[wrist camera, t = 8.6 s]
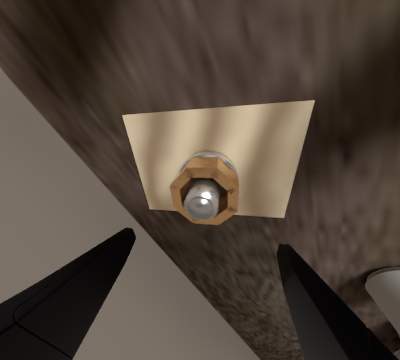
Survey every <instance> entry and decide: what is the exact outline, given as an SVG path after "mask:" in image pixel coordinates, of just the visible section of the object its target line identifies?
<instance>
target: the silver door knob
mask: <svg viewBox="0 0 400 360" xmlns="http://www.w3.org/2000/svg"><path fill="white" fill-rule="evenodd" d="M193 157H220V158H221V159H222V160H223V161H224V162H225V163H226V164H227V165H228V166H229V167H231V168H232V169H233V170H234V171H235V172H236V173H237V170H236V167H235V165H234V163H233V162H232V161H231V160H230V158H228V157H227V156H226V155H224V154H222V153H220V152H217V151H213V150H204V151H200V152H197V153H195V154H193V155H192V156H190V157H189V158H188V160H187V161H186V162H185V164H184V165H183V166H182V168H181V169H180V172H181V170H182V169H183V168H184V167H185V166H186V165H187V164H188V163H189V162H190V160H191V159H192V158H193ZM180 172H179V173H180ZM188 187H189V192H188V195H187V197H186V199H185V201H184V208H185V210H186V212H187V213H188V214H189V215H190V216H191V217H193V218H194V219H197V220H209V219H212V218H213V217H215V216H216V214H217V212H218V206H219V199H220V198H221V197H222V196H224V195H225V194H226V193H228V191H227V190H226V189H225V188H224V187H222V186H221V185H220V184H219V183H218V182H217V181H216V180H215V179H213V178H191V179H190V180H189V181H188Z"/></svg>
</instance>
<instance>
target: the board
mask: <svg viewBox="0 0 400 360" xmlns="http://www.w3.org/2000/svg"><path fill="white" fill-rule="evenodd" d="M314 102H315V100H309V101H296V102H283V103H271V104H258V105H245V106H233V107H220V108H207V109H194V110H182V111H169V112H156V113H143V114H131V115H122V117H123V120H124V123H125V127H126V130H127V133H128V137H129V140H130V144H131V147H132V150H133V154H134V157H135V161H136V164H137V167H138V171H139V174H140V177H141V181H142V184H143V188H144V191H145V194H146V198H147V201H148V205H149V208H150V209H155V210H170V211H177V210H176V209H174V206H173V201H172V196H171V191H170V185H171V183H172V182H173V181H174V179H175V178H176V177H177V175H178V174H179V172H180V169H181V168H182V166H183V165H184V164H185V162H186V161H187V160H188V158H189V157H190V156H192V155H193V154H195V153H197V152H200V151H204V150H213V151H217V152H220V153H222V154H224V155H226V156H227V157H228V158H230V160H231V161H232V162H233V163H234V165H235V167H236V170H237V174H238V182H239V199H238V212H237V213H236V214H234V215H246V216H261V217H276V218H284V216H285V212H286V208H287V204H288V201H289V197H290V193H291V189H292V185H293V182H294V178H295V174H296V170H297V166H298V163H299V159H300V155H301V151H302V147H303V144H304V140H305V136H306V132H307V128H308V125H309V121H310V117H311V113H312V109H313V106H314Z"/></svg>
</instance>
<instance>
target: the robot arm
mask: <svg viewBox="0 0 400 360" xmlns="http://www.w3.org/2000/svg"><path fill="white" fill-rule="evenodd" d="M135 240H136V236H135V234H134V231H133V229H132V228H125V229H123V230H121V231H120V232H118V233H117V234H115V235H113V236H112V237H110V238H108V239H107V240H105V241H104V242H102V243H100V244H99V245H97V246H96V247H94V248H92V249H91V250H89V251H88V252H86V253H84V254H83V255H81V256H80V257H78V258H76V259H75V260H73V261H71V262H70V263H68V264H67V265H65V266H63V267H62V268H60V269H59V270H57V271H55V272H54V273H52V274H51V275H49V276H47V277H46V278H44V279H42V280H41V281H39V282H38V283H36V284H34V285H32V286H31V287H29V288H27V289H25V290H24V291H22V292H20V293H18V294H17V295H15V296H13V297H12V298H10V299H8V300H6V301H4V302H2V303H1V304H0V360H72V359H73V357H74V356H75V354H76V352H77V350H78V348H79V346H80V345H81V343H82V341H83V339H84V337H85V335H86V334H87V332H88V330H89V328H90V326H91V325H92V323H93V321H94V319H95V317H96V316H97V314H98V312H99V310H100V308H101V306H102V305H103V303H104V301H105V299H106V297H107V295H108V294H109V292H110V290H111V288H112V286H113V285H114V283H115V281H116V279H117V277H118V276H119V274H120V272H121V270H122V268H123V266H124V264H125V262H126V260H127V258H128V256H129V254H130V251H131V249H132V247H133V245H134V242H135ZM277 259H278V264H279V270H280V275H281V280H282V285H283V289H284V293H285V296H286V300H287V303H288V306H289V310H290V313H291V316H292V320H293V323H294V326H295V330H296V333H297V336H298V340H299V343H300V346H301V350H302V353H303V356H304V360H399V359H398V358H397V357H396V356H395V355H394V354H393V353H392V352H391V351H390V350H389V349H388V348H387V347H386V346H385V345H384V344H383V343H382V342H381V341H380V340H379V339H378V337H377V336H376V335H375V334H374V333H373V332H372V331H371V330H370V329H369V328H366V325H365V324H364V323H363V322H362V321H361V320H360V319H359V318H358V317H357V315H356V314H355V313H354V312H353V311H352V310H351V309H350V308H349V307H348V306H347V305H346V304H345V303H344V302H343V301H342V300H341V299H340V298H339V297H338V295H337V294H336V293H335V292H334V291H333V290H332V289H331V288H330V287H329V286H328V285H327V284H326V283H325V282H324V281H323V280H322V279H321V278H320V276H319V275H318V274H317V273H316V272H315V271H314V270H313V269H312V268H311V267H310V266H309V265H308V264H307V263H306V262H305V261H304V260H303V259H302V258H301V256H300V255H299V254H298V253H297V252H296V251H295V250H294V249H293V248H292V247H291V246H290V245H289V244H286V243H280V244H279V247H278V251H277Z"/></svg>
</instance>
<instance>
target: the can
mask: <svg viewBox="0 0 400 360" xmlns="http://www.w3.org/2000/svg"><path fill="white" fill-rule="evenodd" d="M365 288H366V290H367V292H368V293H369V294H370V296H371V297H372V298H373V300H374V301H375V302H376V304H377V305H378V306H379V308H380V309H381V310H382V312H383V313H384V314H385V316H386V317H387V318H388V320H389V321H390V322H391V324H392V325H393V327H394V328H395V329H396V331H397V332H398V333H399V335H400V268H398V267H392V268H384V269H381V270H377V271H375V272H373V273H371V274H370V275H369V276H368V278H367V282H366V284H365Z"/></svg>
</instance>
